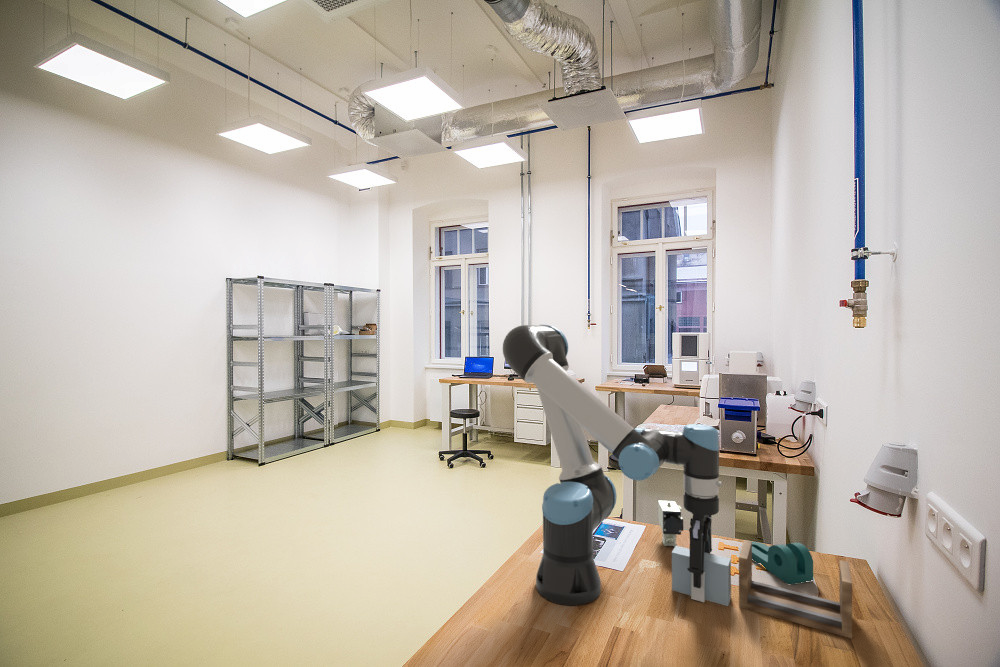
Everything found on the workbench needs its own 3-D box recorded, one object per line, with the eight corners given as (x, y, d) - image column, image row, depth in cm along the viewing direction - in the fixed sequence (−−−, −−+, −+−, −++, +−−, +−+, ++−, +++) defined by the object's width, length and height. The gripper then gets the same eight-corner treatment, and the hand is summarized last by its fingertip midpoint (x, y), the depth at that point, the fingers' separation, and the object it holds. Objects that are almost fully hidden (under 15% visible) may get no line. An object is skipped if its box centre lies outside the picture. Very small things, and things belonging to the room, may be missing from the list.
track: (739, 606, 104) (738, 557, 104) (744, 585, 112) (744, 539, 112) (852, 638, 93) (852, 583, 93) (848, 612, 101) (848, 561, 101)
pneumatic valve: (664, 553, 129) (664, 509, 129) (657, 534, 141) (657, 494, 140) (685, 554, 128) (685, 510, 128) (676, 535, 140) (676, 495, 139)
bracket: (813, 582, 114) (813, 550, 114) (788, 585, 113) (788, 552, 113) (759, 548, 132) (759, 520, 132) (737, 550, 130) (737, 522, 130)
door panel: (672, 590, 111) (671, 552, 111) (676, 582, 114) (675, 545, 114) (728, 606, 104) (728, 566, 104) (730, 597, 108) (730, 558, 108)
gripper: (711, 510, 99) (711, 619, 99) (725, 484, 115) (725, 578, 115) (674, 502, 103) (674, 608, 103) (692, 478, 119) (692, 570, 119)
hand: (700, 592), depth 109 cm, fingers open, 6 cm apart
